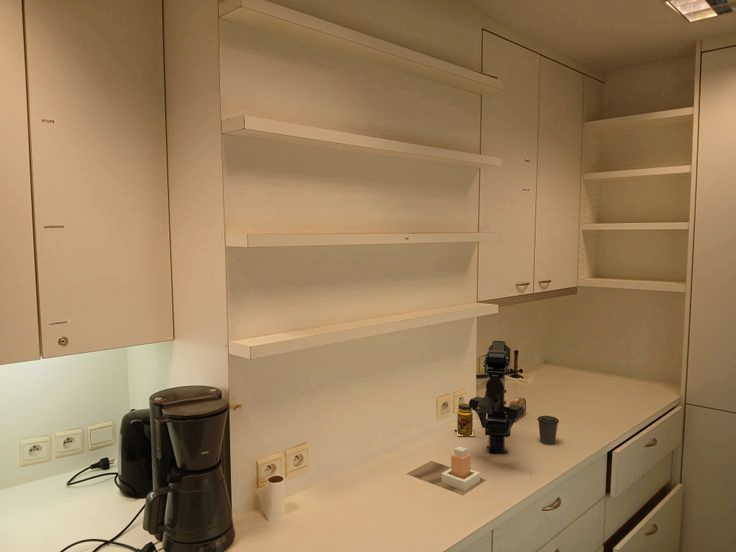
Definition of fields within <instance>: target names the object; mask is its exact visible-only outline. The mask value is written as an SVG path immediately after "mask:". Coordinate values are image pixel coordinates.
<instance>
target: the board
mask: <svg viewBox="0 0 736 552" xmlns="http://www.w3.org/2000/svg"><path fill="white" fill-rule="evenodd" d="M450 468H451V466H447V465H445V464H441V463H438V462H436V461H433V460H430V461H429V462H426V463H424V464H422V465H421V466H419V467H417V468H415V469H413V470H411V471H409V472H407V473H406V475H408V476H411V477H413V478H417V479H419V480H422V481H424V482H426V483H429V484H432V485H435V486H437V487H439V488H442V489H445V490H447V491H450V492H453V493H455V494H458V495H461V496H464V495H466V494H468V493H469V492H470V491H472V490H474V489H475V488H477V487H478V486H480V485H481V484H483V483H484V482H486V481H487V479H485V478H482V477H480V482H479V483H477V484H476V485H474V486H472V487H471V488H469V489H468V490H466V491H463V490H460V489H457V488H455V487H452V486H449V485H447V484H444V483H441V475H442V473H443V472H445V471H447V470H449V469H450Z"/></svg>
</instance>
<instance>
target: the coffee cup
mask: <svg viewBox="0 0 736 552" xmlns="http://www.w3.org/2000/svg"><path fill="white" fill-rule="evenodd" d="M537 417H538V418H537V419H536V420H537V422H538V429H539V440H540V441H539V442H540V443H541V444H543V445H546V446H553V445H555V444H556V437H557V431H558V424H559V423H560V420H559V419H558V418H557V417H554V416H552V415H539V416H537Z"/></svg>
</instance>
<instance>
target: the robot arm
mask: <svg viewBox="0 0 736 552" xmlns="http://www.w3.org/2000/svg"><path fill="white" fill-rule="evenodd" d="M511 355H512V354H511V348H510V347H509V345H507V342H506V341H505V340H492V342H491V345H490V346H489V347H488V350H487V353H486V354H485V355H484V356H485V357H484V371H483V372H484V374H487V379H486V384H485V389H486V390H485V395H484V397H481V396H475V397H471V398H470V399H469V401H468V404H469V407H470V408H472V411H474V412H475V413H476V414H477V416H478V419H479V421H480V425H481V427H482V429H484V435H485V436H488V445H486V446H485V447H486V450H487V451H488V452H489V453H490V454H491V455H492V454H495V455H496V454H508V450H507V449H506V448H505V445H506V444H505V442H506V441H505V440H506V439H505V438H509V437H510V436H511V429H512V427H513V425H514V424H515V422H516V421H515V420H516V418H519V417H521V416H523V415H524V409H523V407H521V406H516V405H512V406H510V407H509V406H507V405H506V404H507V401H506V400H505V394H506V393H507V389H506V386H505V385H506V383H505V381H506V375H508V372H510V363H511V358H512V357H511ZM524 416H525V415H524ZM524 416H523V417H524Z"/></svg>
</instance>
